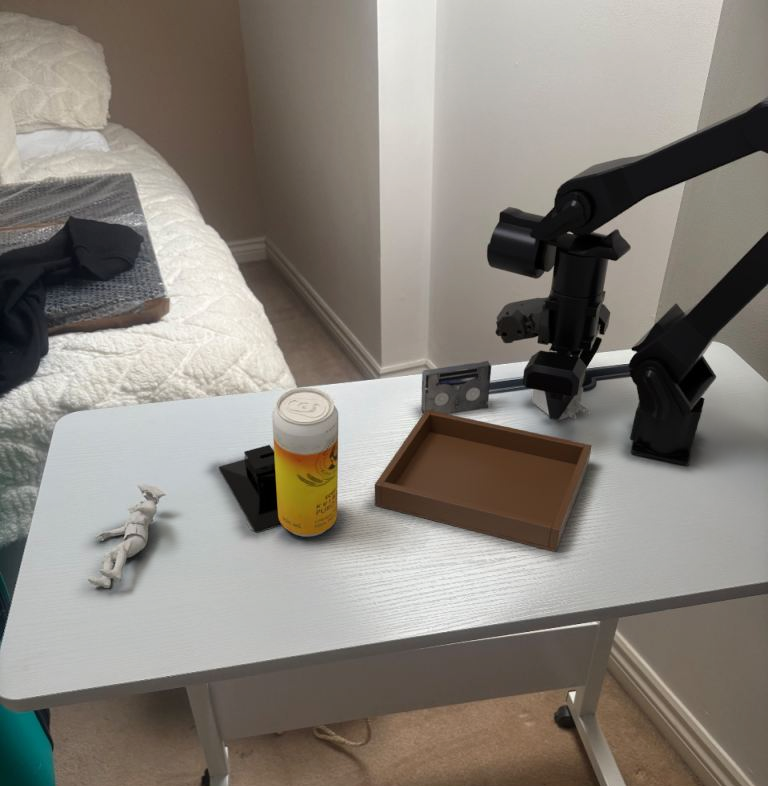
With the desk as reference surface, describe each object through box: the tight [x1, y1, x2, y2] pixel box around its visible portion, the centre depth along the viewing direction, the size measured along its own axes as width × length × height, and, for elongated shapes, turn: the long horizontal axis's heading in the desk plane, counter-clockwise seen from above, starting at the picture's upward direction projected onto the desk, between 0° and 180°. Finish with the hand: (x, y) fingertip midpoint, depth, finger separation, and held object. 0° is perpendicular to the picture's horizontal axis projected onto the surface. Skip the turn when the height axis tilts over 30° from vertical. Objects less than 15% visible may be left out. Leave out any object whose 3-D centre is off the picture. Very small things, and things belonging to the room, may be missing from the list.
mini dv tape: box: [420, 360, 492, 415], centre depth 101 cm, size 8×2×6 cm, turn 106°
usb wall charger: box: [531, 387, 591, 422], centre depth 101 cm, size 4×7×4 cm, turn 30°
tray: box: [374, 410, 593, 553], centre depth 90 cm, size 20×16×3 cm
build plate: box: [218, 444, 283, 533], centre depth 89 cm, size 12×7×5 cm, turn 26°
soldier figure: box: [87, 484, 167, 589], centre depth 82 cm, size 8×5×12 cm
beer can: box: [271, 387, 339, 538], centre depth 81 cm, size 6×6×15 cm
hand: (559, 406), depth 102 cm, fingers closed on usb wall charger, 5 cm apart
